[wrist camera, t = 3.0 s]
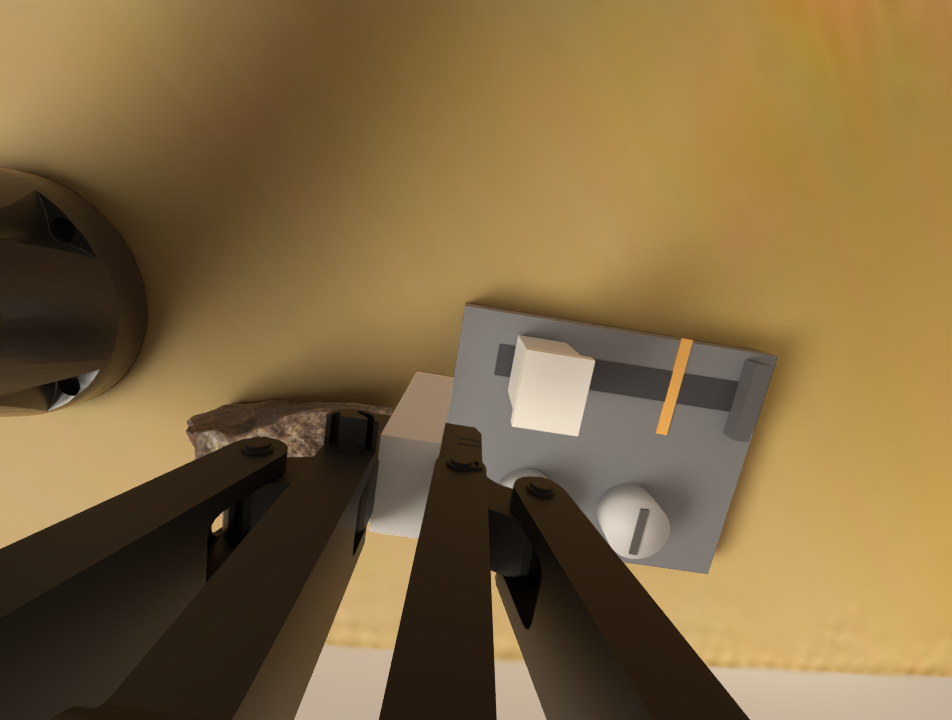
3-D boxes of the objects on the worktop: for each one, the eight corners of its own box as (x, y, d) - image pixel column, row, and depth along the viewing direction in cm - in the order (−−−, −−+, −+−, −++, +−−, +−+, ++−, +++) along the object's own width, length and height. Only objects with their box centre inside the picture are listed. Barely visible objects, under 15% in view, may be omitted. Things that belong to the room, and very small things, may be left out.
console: (431, 518, 32) (424, 559, 28) (465, 299, 29) (464, 306, 24) (694, 555, 33) (728, 601, 29) (758, 347, 29) (809, 362, 25)
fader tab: (503, 392, 28) (512, 426, 22) (515, 331, 27) (526, 349, 21) (556, 400, 28) (577, 436, 22) (569, 339, 27) (595, 360, 21)
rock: (202, 369, 31) (219, 498, 33) (87, 409, 22) (120, 578, 25) (405, 374, 30) (409, 507, 32) (364, 418, 21) (373, 594, 23)
